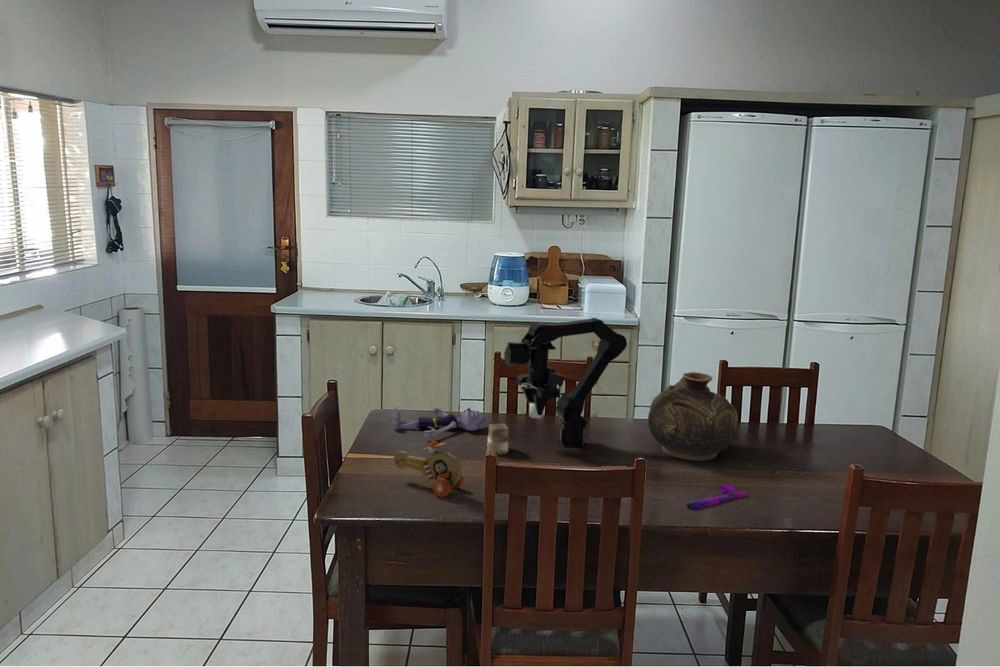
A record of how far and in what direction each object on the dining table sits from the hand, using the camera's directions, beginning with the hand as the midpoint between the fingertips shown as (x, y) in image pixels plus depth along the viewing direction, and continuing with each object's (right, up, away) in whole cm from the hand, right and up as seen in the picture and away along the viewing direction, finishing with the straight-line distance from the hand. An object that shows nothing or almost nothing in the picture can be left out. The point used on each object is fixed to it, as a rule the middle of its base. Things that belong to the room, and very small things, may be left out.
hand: (536, 412), depth 232 cm
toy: (-31, -7, +17) cm, 36 cm away
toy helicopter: (-30, -17, -31) cm, 46 cm away
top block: (-12, -8, -3) cm, 14 cm away
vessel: (+48, -12, +2) cm, 50 cm away
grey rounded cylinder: (0, -1, 0) cm, 1 cm away
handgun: (+46, -20, -33) cm, 59 cm away
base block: (-12, -12, -2) cm, 17 cm away
